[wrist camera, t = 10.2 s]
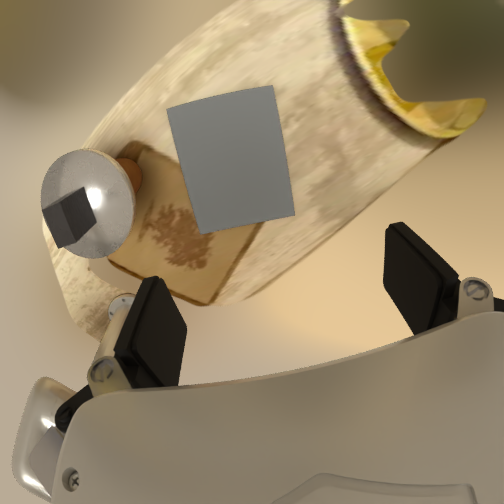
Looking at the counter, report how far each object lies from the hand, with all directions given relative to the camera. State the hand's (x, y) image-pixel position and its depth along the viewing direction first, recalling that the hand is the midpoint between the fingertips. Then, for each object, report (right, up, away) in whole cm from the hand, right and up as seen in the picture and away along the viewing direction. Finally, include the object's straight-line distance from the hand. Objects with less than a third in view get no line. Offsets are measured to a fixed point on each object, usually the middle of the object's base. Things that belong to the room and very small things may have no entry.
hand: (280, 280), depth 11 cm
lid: (-20, +7, +16) cm, 27 cm away
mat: (-4, +14, +27) cm, 31 cm away
